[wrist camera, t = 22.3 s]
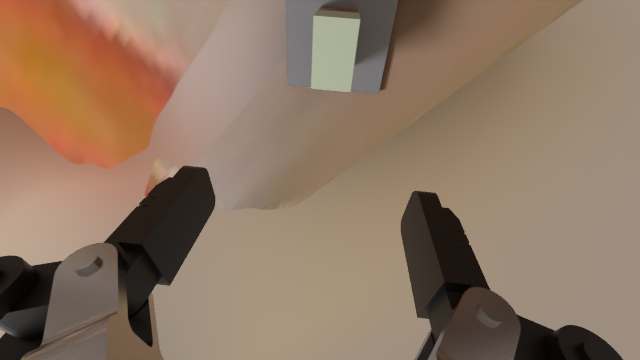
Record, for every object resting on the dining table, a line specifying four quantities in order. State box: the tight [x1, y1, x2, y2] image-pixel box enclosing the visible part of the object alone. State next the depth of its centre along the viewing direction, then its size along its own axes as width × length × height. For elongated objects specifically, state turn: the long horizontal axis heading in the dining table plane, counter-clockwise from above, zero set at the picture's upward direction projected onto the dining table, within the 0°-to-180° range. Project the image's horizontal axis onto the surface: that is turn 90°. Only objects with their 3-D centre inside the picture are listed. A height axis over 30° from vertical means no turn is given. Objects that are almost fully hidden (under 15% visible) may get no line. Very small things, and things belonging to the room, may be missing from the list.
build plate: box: [286, 0, 399, 94], centre depth 34 cm, size 14×14×1 cm
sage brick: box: [311, 10, 360, 92], centre depth 28 cm, size 4×7×5 cm, turn 177°
